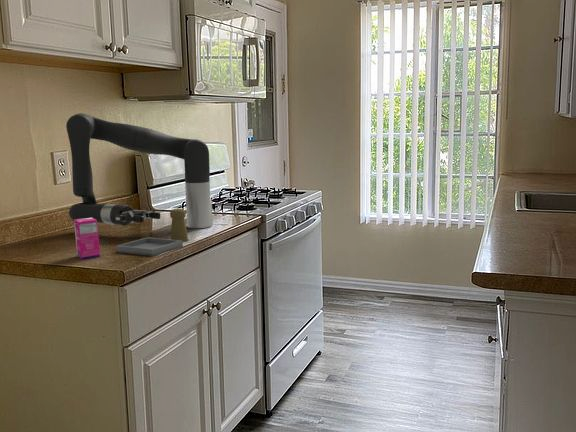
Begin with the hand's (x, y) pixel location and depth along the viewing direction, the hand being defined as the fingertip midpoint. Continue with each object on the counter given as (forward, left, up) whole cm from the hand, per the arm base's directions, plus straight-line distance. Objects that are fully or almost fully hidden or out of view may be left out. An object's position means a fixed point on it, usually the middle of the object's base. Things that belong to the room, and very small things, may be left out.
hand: (151, 217), depth 206 cm
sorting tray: (+15, +11, -7) cm, 20 cm away
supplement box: (+30, 0, -8) cm, 31 cm away
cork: (0, +11, -8) cm, 14 cm away
